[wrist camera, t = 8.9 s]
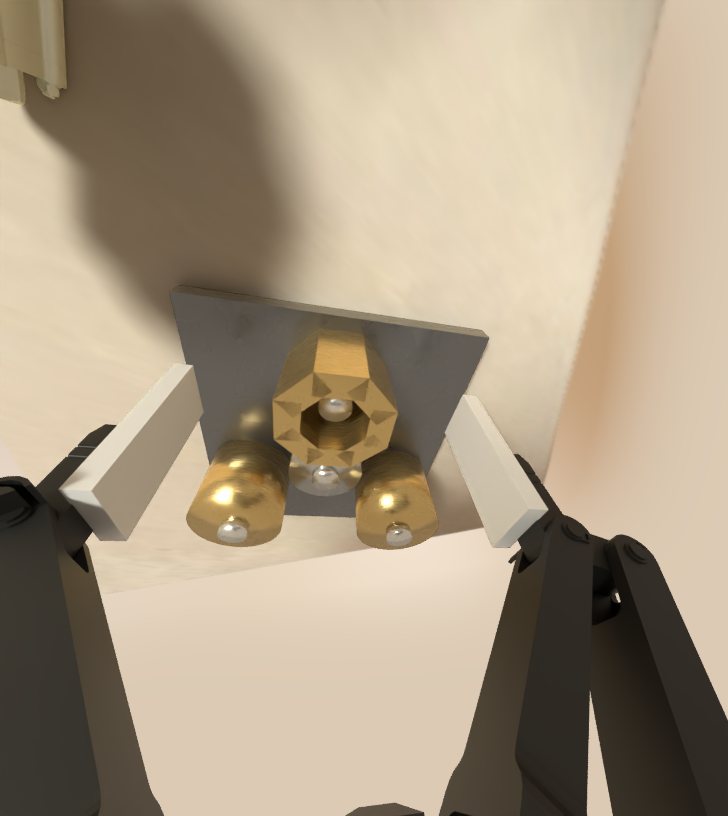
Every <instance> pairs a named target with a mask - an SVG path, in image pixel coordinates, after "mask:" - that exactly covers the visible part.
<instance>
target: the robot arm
mask: <svg viewBox="0 0 728 816" xmlns="http://www.w3.org/2000/svg"><path fill="white" fill-rule="evenodd" d="M203 412H204V411H203V407H202V403H201V398H200V394H199V390H198V385H197V381H196V377H195V372H194V368H193V365H186V364H176V363H174V364H173V365H172V366H171V368H170V369H169V370H168V371H167V372H166V373H165V374H164V375H163V376H162V377H161V378H160V379H159V381H158V382H157V383H156V384H155V385H154V386H153V387H152V388H151V389H150V390H149V391H148V392H147V394H146V395H145V396H144V397H143V398H142V399H141V400H140V401H139V402H138V403H137V404H136V405H135V407H134V408H133V409H132V410H131V411H130V412H129V413H128V414H127V415H126V416H125V417H124V418H123V420H122V421H121V422H120V423H119V424H118V425H108V424H105V425H103V426H102V427H100V428H98V429H97V430H95V431H93V432H91V433H90V434H88V435H87V436H86V437H85V438H84V439H83V440H82V441H81V442H80V443H79V444H78V447H75V448H74V449H73V450H72V451H71V452H70V453H69V454H68V457H65V458H64V459H63V460H62V461H61V462H60V463H59V464H58V465H57V466H56V467H55V468H54V469H53V470H52V471H51V472H50V473H49V474H48V475H47V476H46V477H45V478H44V479H43V480H42V481H41V482H40V483H39V484H38V485H37V486H36V487H35V486H34V485H33V484H32V483H31V482H30V481H29V480H28V479H26V478H23V477H20V476H11V477H9V476H8V477H3V478H0V816H164V814H163V812H162V810H161V807H160V805H159V803H158V802H157V800H156V799H155V797H154V796H153V794H152V792H151V789H150V786H149V783H148V779H147V775H146V771H145V767H144V763H143V760H142V756H141V752H140V748H139V744H138V740H137V736H136V732H135V728H134V725H133V720H132V716H131V713H130V709H129V705H128V701H127V697H126V693H125V689H124V685H123V681H122V678H121V674H120V670H119V666H118V662H117V658H116V654H115V650H114V646H113V642H112V638H111V635H110V630H109V627H108V623H107V619H106V615H105V611H104V607H103V604H102V599H101V595H100V591H99V587H98V584H97V580H96V576H95V572H94V568H93V564H92V560H91V556H90V552H89V548H88V546H87V545H86V544H85V542H86V540H87V539H88V537H89V536H90V534H91V533H92V532H94V534H95V535H96V536H97V537H98V539H99V540H100V541H127V539H128V538H129V536H130V534H131V533H132V531H133V529H134V528H135V526H136V524H137V523H138V521H139V519H140V518H141V516H142V514H143V513H144V511H145V509H146V508H147V506H148V504H149V503H150V501H151V499H152V498H153V496H154V494H155V493H156V491H157V489H158V488H159V486H160V484H161V483H162V481H163V479H164V478H165V476H166V474H167V473H168V471H169V469H170V468H171V466H172V464H173V463H174V461H175V459H176V458H177V456H178V454H179V453H180V451H181V449H182V448H183V446H184V444H185V443H186V441H187V439H188V438H189V436H190V434H191V432H192V431H193V429H194V427H195V426H196V424H197V422H198V421H199V419H200V417H201V416H202V414H203ZM445 434H446V437H447V439H448V442H449V444H450V446H451V449H452V451H453V454H454V456H455V458H456V461H457V463H458V466H459V468H460V471H461V473H462V475H463V478H464V480H465V483H466V485H467V487H468V490H469V492H470V495H471V497H472V499H473V502H474V504H475V507H476V509H477V511H478V514H479V516H480V519H481V521H482V523H483V526H484V528H485V530H486V533H487V535H488V538H489V540H490V543H491V545H492V547H497V548H510V547H511V546H512V545H513V544H514V543H515V542H516V541H517V540H518V542H519V544H520V546H521V549H520V550H519V551H518V552H517V553H516V554H515V555H514V556H512V557H511V558H510V560H509V561H508V562H509V563H512V562H513V561H515V560H516V561H515V565H514V568H513V572H512V576H511V580H510V583H509V588H508V591H507V595H506V599H505V602H504V606H503V610H502V613H501V617H500V621H499V625H498V628H497V632H496V636H495V640H494V643H493V648H492V651H491V655H490V658H489V662H488V666H487V670H486V673H485V677H484V681H483V685H482V688H481V692H480V696H479V700H478V703H477V707H476V711H475V714H474V718H473V722H472V726H471V730H470V733H469V737H468V741H467V744H466V748H465V751H464V755H463V757H462V759H461V761H460V763H459V764H458V766H457V767H456V768H455V770H454V771H453V774H452V776H451V778H450V780H449V783H448V786H447V789H446V792H445V796H444V799H443V803H442V806H441V810H440V813H439V816H587V778H588V776H587V775H588V739H589V701H590V697H589V696H590V692H591V698H592V703H593V708H594V714H595V720H596V725H597V731H598V736H599V741H600V747H601V752H602V758H603V764H604V769H605V774H606V779H607V785H608V791H609V796H610V802H611V807H612V813H613V816H728V720H727V718H726V715H725V713H724V711H723V709H722V706H721V704H720V702H719V700H718V697H717V695H716V693H715V691H714V688H713V686H712V684H711V682H710V680H709V677H708V675H707V673H706V671H705V668H704V666H703V664H702V662H701V659H700V657H699V655H698V653H697V650H696V648H695V646H694V644H693V641H692V639H691V637H690V635H689V633H688V630H687V628H686V626H685V623H684V621H683V619H682V617H681V615H680V612H679V610H678V608H677V606H676V603H675V601H674V599H673V596H672V594H671V592H670V590H669V588H668V585H667V583H666V581H665V578H664V576H663V574H662V572H661V570H660V567H659V565H658V563H657V561H656V559H655V558H654V556H653V555H652V553H651V552H650V551H649V550H648V549H647V548H646V547H645V546H644V545H642V544H641V543H640V542H638V541H637V540H635V539H633V538H631V537H629V536H626V535H616V536H615V537H614V538H612V539H611V540H607V539H604V538H601V537H598V536H595V535H592V534H590V533H589V532H588V530H587V529H586V528H585V527H584V526H583V525H582V524H581V523H579V522H578V521H576V520H575V519H573V518H571V517H568V516H565V515H563V514H562V512H561V511H560V510H559V508H558V507H557V505H556V504H555V502H554V501H553V499H552V498H551V496H550V495H549V493H548V492H547V490H546V489H545V487H544V486H543V484H541V481H540V480H539V478H538V477H537V476H536V475H535V472H534V471H533V469H532V468H531V466H530V465H529V463H528V462H526V461H525V460H524V459H523V458H522V457H521V456H520V455H518V454H513V453H512V451H511V450H510V448H509V447H508V445H507V444H506V442H505V440H504V439H503V437H502V436H501V434H500V433H499V431H498V429H497V428H496V426H495V425H494V423H493V422H492V420H491V418H490V417H489V415H488V414H487V412H486V410H485V409H484V407H483V406H482V404H481V403H480V401H479V399H478V398H477V396H472V395H462V397H461V399H460V401H459V404H458V406H457V408H456V410H455V412H454V414H453V416H452V418H451V420H450V422H449V425H448V427H447V429H446V431H445ZM616 593H618V594H619V597H620V600H621V602H620V603H618V601H617V599H616V596H615V594H616ZM346 816H424V812H421V811H418V810H415V809H412V808H409V807H406V806H403V805H400V804H397V803H389V804H382V805H374V806H367V807H359V808H357V809H355V810H354V811H353V812H351V813H349V814H347V815H346Z"/></svg>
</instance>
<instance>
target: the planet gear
mask: <svg viewBox="0 0 728 816" xmlns="http://www.w3.org/2000/svg"><path fill="white" fill-rule="evenodd" d="M323 397H324V398H334V399H344V400H352V406H353V410H352V413H351V415H350V416H349V417H348V418H347V419H345V420H343V421H339V422H332V421H328V420H326V419H324V418H323V417H322V416H321V415H320V413H319V411H318V404H319V400H320V399H322V398H323ZM272 401H273V432H274V440H275V441H276V442H278V443H279V444H280V445H282V446H283V447H284V448H286V449H287V450H288V451H289V452H291V453H292V454H293V455H295V456H296V457H297V458H299V459H300V460H301V461H303V462H304V463H305V464H307V465H320V466H336V467H353V466H355V465H356V464H358V463H360V462H362V461H364V460H366V459H368V458H370V457H371V456H373V455H375V454H377V453H379V452H381V451H383V450H385V449H386V448H387V447H388V444H389V441H390V437H391V434H392V431H393V428H394V424H395V421H396V418H397V415H398V410H397V406H396V402H395V398H394V394H393V391H392V387H391V383H390V379H389V375H388V371H387V367H386V364H385V362H384V361H383V360H382V358H381V357H380V356H379V355H378V353H377V352H376V351H375V349H374V348H373V347H372V345H371V344H370V343H369V341H368V340H367V339H366V337H365V336H364V335H363V334H360V333H353V332H346V331H338V330H331V329H324V328H320V329H318V330H317V331H316V332H314V333H313V334H312V335H310V336H309V337H308V338H306V339H305V340H304V341H302V342H301V343H300V344H298V345H297V346H296V347H294V348H293V349H292V350H290V351H289V352H288V355H287V358H286V361H285V364H284V367H283V370H282V373H281V376H280V379H279V382H278V385H277V388H276V391H275V394H274V397H273V400H272Z"/></svg>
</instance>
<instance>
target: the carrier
mask: <svg viewBox="0 0 728 816" xmlns="http://www.w3.org/2000/svg"><path fill="white" fill-rule="evenodd" d="M169 292H170V297H171V301H172V305H173V309H174V314H175V318H176V322H177V327H178V331H179V335H180V339H181V344H182V348H183V352H184V357H185V361H186V365H193V368H194V372H195V377H196V381H197V385H198V390H199V394H200V398H201V403H202V407H203V411H204V412H203V414H202V416H201V417H200V419H199V421H200V425H201V430H202V434H203V438H204V442H205V447H206V451H207V455H208V460H209V464H210V467H209V469H208V471H207V473H206V475H205V478H204V480H203V482H202V484H201V486H200V488H199V490H198V492H197V494H196V496H195V498H194V500H193V503H192V505H191V507H190V509H189V511H188V513H187V516H186V520H187V524H188V526H189V527H190V528H191V530H192V531H193V532H194V533H196V534H197V535H199V536H200V537H202V538H204V539H206V540H208V541H211V542H214V543H217V544H221V545H226V546H235V547H248V546H256V545H260V544H264V543H266V542H269V541H271V540H273V539H274V538H275V537H276V536H277V535H278V534H279V533H280V531H281V527H282V522H283V516H284V515H300V516H328V517H355V518H356V526H357V535H358V538H359V539H360V540H361V541H362V542H363V543H365V544H366V545H368V546H371V547H374V548H378V549H388V550H390V549H391V550H393V549H403V548H407V547H411V546H415V545H417V544H420V543H422V542H424V541H426V540H427V539H429V538H430V537H431V536H432V535H433V534H434V533H435V532H436V530H437V528H438V525H439V522H438V518H437V515H436V511H435V508H434V504H433V501H432V498H431V494H430V491H429V488H428V484H427V481H426V475H427V472H428V470H429V468H430V466H431V464H432V462H433V459H434V457H435V455H436V453H437V451H438V449H439V446H440V444H441V442H442V440H443V438H444V436H445V431H446V429H447V427H448V425H449V422H450V420H451V418H452V416H453V414H454V412H455V410H456V408H457V406H458V404H459V401H460V399H461V397H462V395H463V394H464V392H465V390H466V388H467V386H468V383H469V381H470V379H471V377H472V375H473V373H474V370H475V368H476V366H477V364H478V362H479V360H480V357H481V355H482V353H483V351H484V349H485V347H486V344H487V342H488V340H489V337H488V336H487V335H486V334H485V333H484V332H483V331H482V330H477V329H470V328H463V327H457V326H450V325H443V324H436V323H430V322H423V321H416V320H410V319H403V318H396V317H390V316H383V315H376V314H370V313H363V312H356V311H349V310H343V309H336V308H329V307H323V306H316V305H309V304H303V303H296V302H289V301H283V300H276V299H269V298H262V297H256V296H249V295H242V294H236V293H229V292H222V291H216V290H209V289H202V288H196V287H189V286H182V285H179V286H178V287H176V288H174V289H172V290H171V291H169ZM320 328H324V329H331V330H338V331H346V332H353V333H360V334H363V335H364V336H365V337H366V339H367V340H368V341H369V343H370V344H371V345H372V347H373V348H374V349H375V351H376V352H377V353H378V355H379V356H380V357H381V358H382V360H383V361H384V362H385V364H386V367H387V371H388V375H389V379H390V383H391V387H392V391H393V394H394V398H395V402H396V406H397V410H398V415H397V418H396V421H395V424H394V428H393V431H392V434H391V437H390V441H389V444H388V447H387V448H386V449H385V450H383V451H381V452H379V453H377V454H375V455H373V456H371V457H370V458H368V459H366V460H364V461H362V462H360V463H358V464H356V465H355V466H353V467H336V466H320V465H307V464H305V463H304V462H303V461H301V460H300V459H299V458H297V457H296V456H295V455H293V454H292V453H291V452H289V451H288V450H287V449H286V448H284V447H283V446H282V445H280V444H279V443H278V442H276V441H275V440H274V432H273V401H272V400H273V397H274V394H275V391H276V388H277V385H278V382H279V379H280V376H281V373H282V370H283V367H284V364H285V361H286V358H287V355H288V352H289V351H290V350H292V349H293V348H294V347H296V346H297V345H298V344H300V343H301V342H302V341H304V340H305V339H306V338H308V337H309V336H310V335H312V334H313V333H314V332H316V331H317V330H318V329H320ZM352 410H353V406H352V400H344V399H334V398H324V397H323V398H322V399H320V400H319V404H318V411H319V413H320V415H321V416H322V417H323V418H324V419H326V420H328V421H332V422H339V421H343V420H345V419H347V418H348V417H349V416H350V415H351V413H352Z"/></svg>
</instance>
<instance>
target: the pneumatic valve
mask: <svg viewBox="0 0 728 816" xmlns="http://www.w3.org/2000/svg"><path fill="white" fill-rule="evenodd" d="M23 72H25V73H27V74H30V75H33V76H35V77H36V85H37V87H38V88H40V89H42V93H43V94H44V95H45V96H47V97H49V98H51V99H55V96H56V97H58V98H59V89H61V88H64V89H67V80H66V60H65V40H64V20H63V0H0V98H1V99H4V100H7V101H9V102H13V103H16V104H20V105H24V104H25V97H26V96H25V87H24V78H23Z"/></svg>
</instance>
